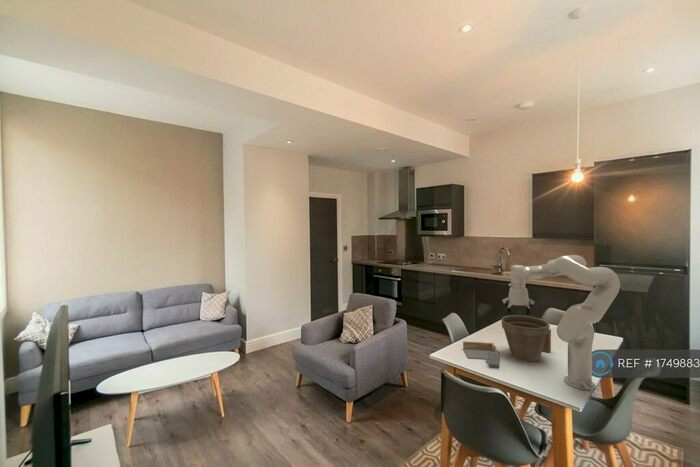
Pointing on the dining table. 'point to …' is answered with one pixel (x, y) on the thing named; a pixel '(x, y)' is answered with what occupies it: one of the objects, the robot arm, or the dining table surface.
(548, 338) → the wooden block
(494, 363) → the bracket
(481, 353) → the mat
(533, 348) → the plant pot
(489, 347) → the walls
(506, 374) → the dining table surface
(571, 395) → the dining table surface
